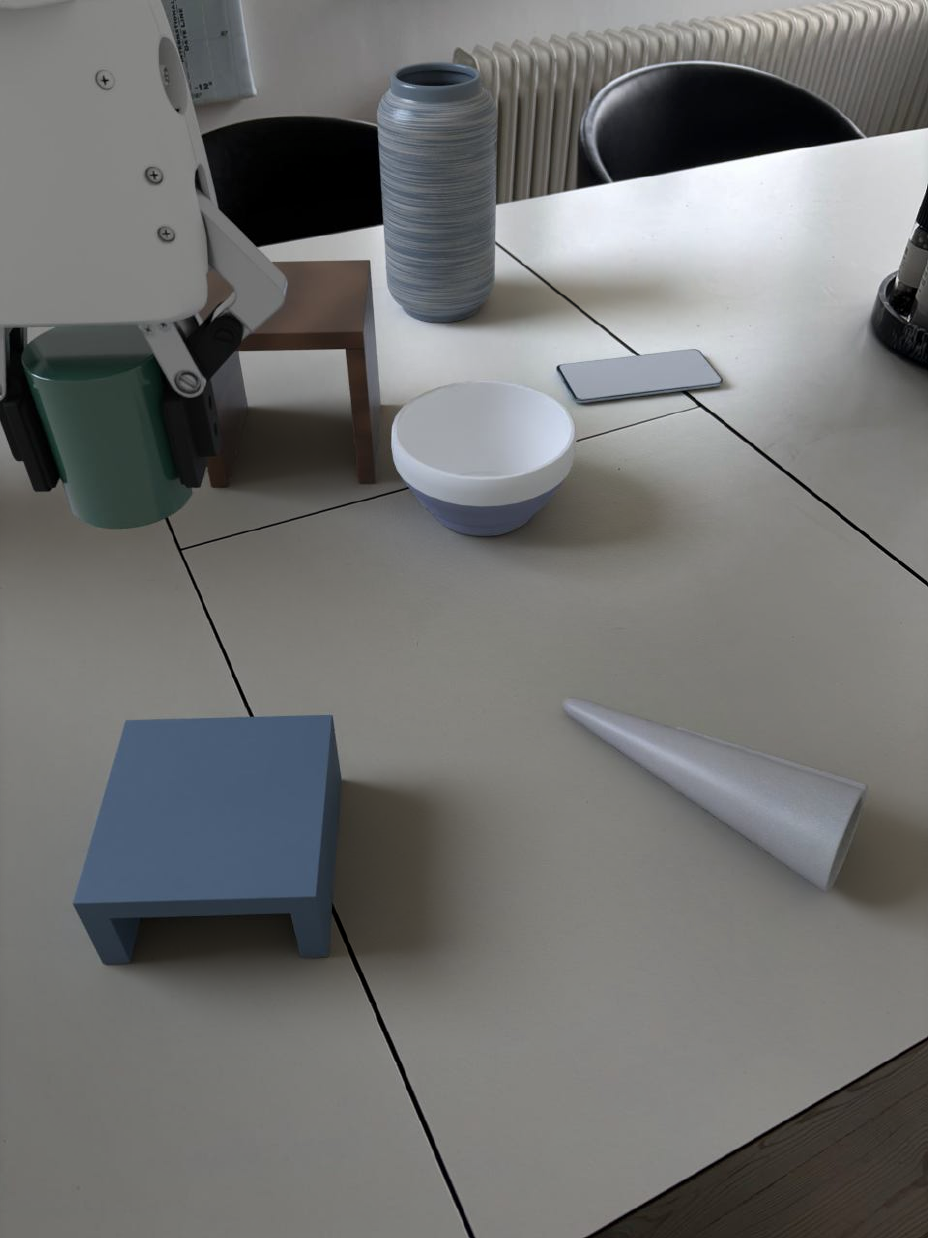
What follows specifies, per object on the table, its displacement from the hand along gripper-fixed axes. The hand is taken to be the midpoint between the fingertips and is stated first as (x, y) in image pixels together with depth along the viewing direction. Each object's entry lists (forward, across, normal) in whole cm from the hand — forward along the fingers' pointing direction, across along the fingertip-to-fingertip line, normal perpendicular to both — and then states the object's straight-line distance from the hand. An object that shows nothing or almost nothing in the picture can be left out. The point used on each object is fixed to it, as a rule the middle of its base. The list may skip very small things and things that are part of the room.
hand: (125, 466), depth 40 cm
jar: (+1, 0, 0) cm, 1 cm away
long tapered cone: (+27, -27, -3) cm, 38 cm away
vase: (+27, -13, -70) cm, 76 cm away
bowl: (+27, -16, -33) cm, 46 cm away
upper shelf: (+27, 0, -43) cm, 51 cm away
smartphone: (+27, -32, -53) cm, 68 cm away
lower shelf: (+27, 0, +1) cm, 27 cm away
